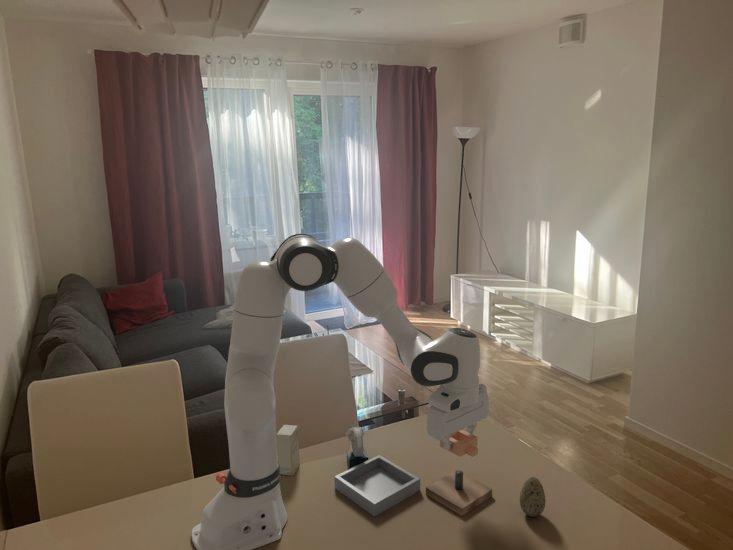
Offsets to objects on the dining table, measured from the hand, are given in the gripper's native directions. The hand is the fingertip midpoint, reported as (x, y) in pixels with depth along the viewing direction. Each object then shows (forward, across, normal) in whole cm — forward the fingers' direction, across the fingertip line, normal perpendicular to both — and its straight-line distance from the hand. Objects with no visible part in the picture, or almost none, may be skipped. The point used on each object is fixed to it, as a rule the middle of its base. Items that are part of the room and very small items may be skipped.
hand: (458, 443), depth 137 cm
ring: (+1, 0, 0) cm, 1 cm away
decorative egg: (+15, -8, +17) cm, 24 cm away
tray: (+15, +14, -16) cm, 26 cm away
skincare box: (+16, +26, -40) cm, 50 cm away
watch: (+15, +10, -29) cm, 34 cm away
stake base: (+15, 0, 0) cm, 15 cm away
